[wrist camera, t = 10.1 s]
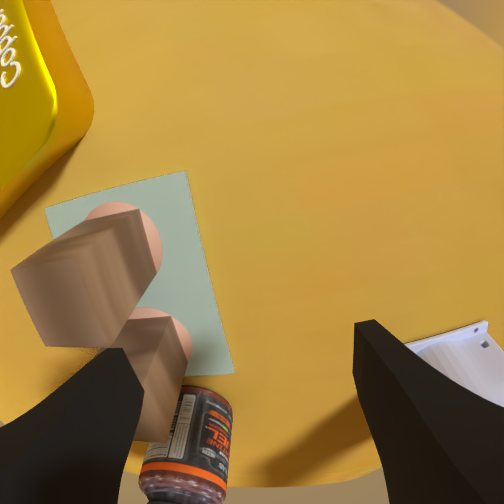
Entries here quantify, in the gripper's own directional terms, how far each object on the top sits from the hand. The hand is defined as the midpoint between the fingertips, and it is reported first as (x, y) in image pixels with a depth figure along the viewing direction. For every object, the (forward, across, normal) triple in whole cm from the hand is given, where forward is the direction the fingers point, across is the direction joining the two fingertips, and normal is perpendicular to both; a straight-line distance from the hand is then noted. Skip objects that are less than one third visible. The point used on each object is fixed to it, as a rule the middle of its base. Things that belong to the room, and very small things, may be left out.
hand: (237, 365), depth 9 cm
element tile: (+10, +16, -14) cm, 23 cm away
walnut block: (+9, +8, -2) cm, 12 cm away
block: (+9, +8, +6) cm, 13 cm away
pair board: (+9, +8, +2) cm, 12 cm away
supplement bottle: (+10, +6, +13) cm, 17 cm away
